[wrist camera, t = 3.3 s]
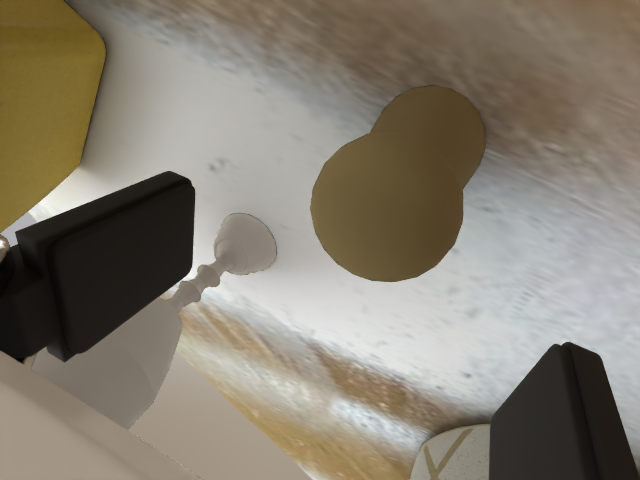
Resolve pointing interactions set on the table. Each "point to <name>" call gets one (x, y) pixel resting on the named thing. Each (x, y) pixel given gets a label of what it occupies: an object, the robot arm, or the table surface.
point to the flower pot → (43, 98)
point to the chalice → (154, 332)
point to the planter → (455, 455)
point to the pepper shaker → (400, 186)
